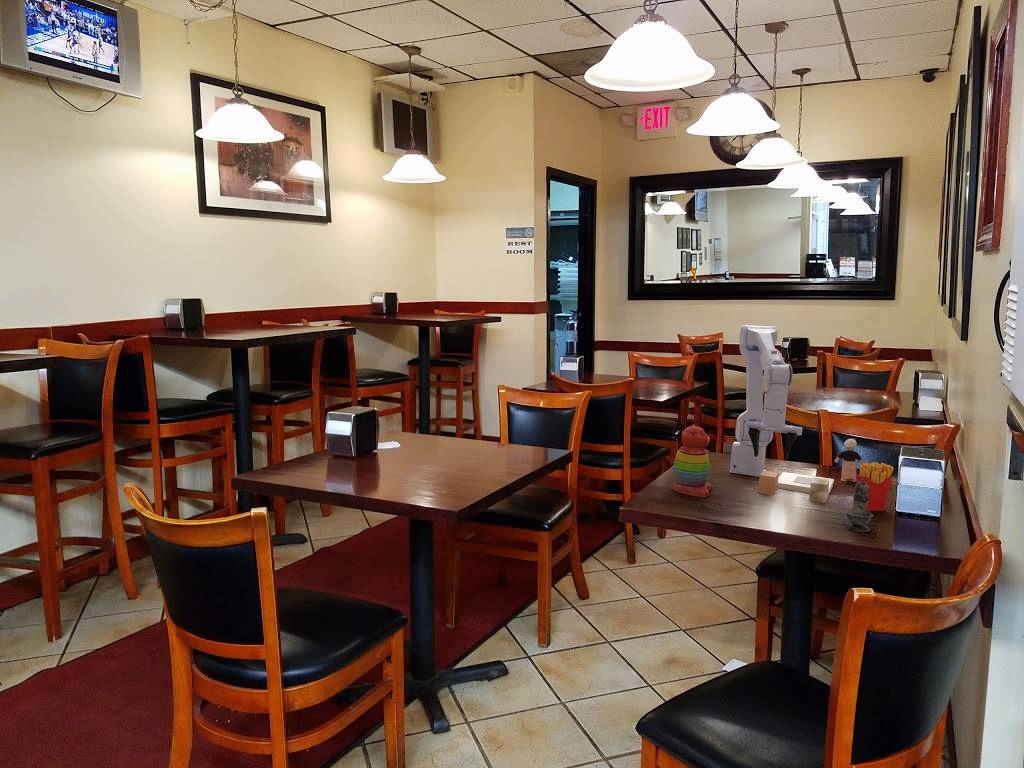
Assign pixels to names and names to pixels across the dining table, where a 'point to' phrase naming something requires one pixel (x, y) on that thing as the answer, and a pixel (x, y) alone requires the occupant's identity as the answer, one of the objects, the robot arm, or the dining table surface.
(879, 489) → the french fries
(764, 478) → the terracotta brick
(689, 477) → the stacking bear
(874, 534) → the dining table surface
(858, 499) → the grey stone statuette
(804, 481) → the tower plate
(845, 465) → the grandmother figurine
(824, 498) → the birch brick
